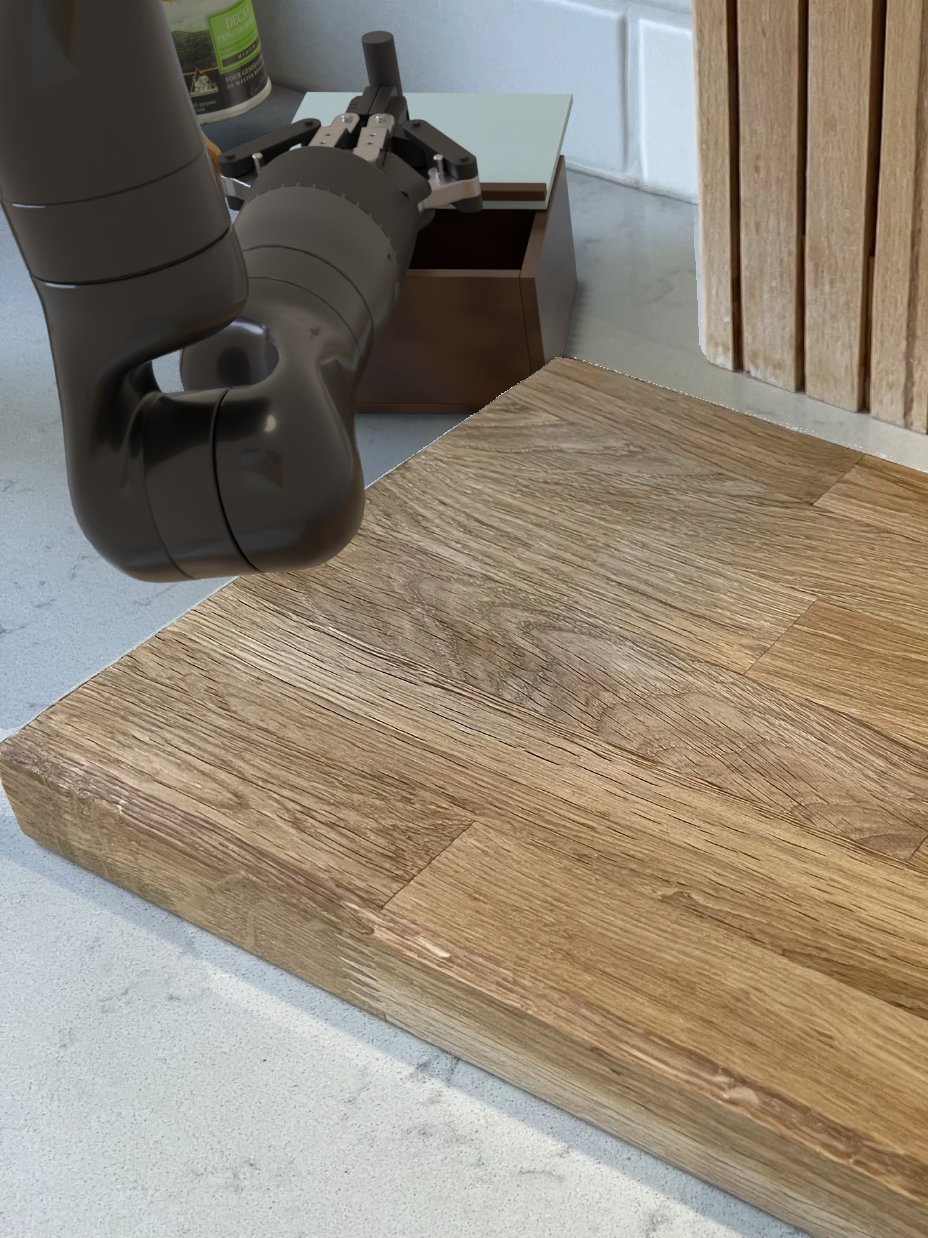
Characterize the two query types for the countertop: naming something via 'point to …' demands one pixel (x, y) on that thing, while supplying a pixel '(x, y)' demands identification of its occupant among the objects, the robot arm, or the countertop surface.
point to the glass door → (472, 128)
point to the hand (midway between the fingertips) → (384, 104)
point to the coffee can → (219, 56)
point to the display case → (476, 309)
